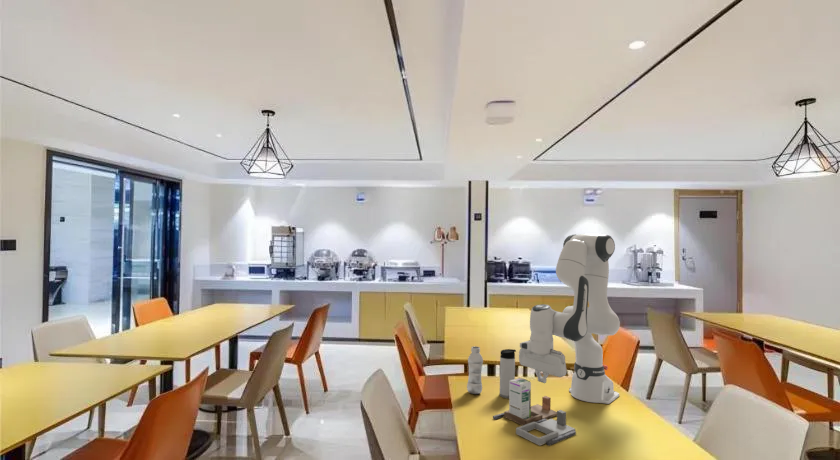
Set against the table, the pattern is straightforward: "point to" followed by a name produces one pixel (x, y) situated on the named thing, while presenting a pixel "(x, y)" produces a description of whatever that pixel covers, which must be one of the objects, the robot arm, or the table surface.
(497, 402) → the table surface
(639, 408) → the table surface
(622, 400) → the table surface
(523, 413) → the syrup box
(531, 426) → the grey sliding lid frame
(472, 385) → the plastic bottle
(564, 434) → the lane rails
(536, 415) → the brown flat tabbed frame
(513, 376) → the travel mug
